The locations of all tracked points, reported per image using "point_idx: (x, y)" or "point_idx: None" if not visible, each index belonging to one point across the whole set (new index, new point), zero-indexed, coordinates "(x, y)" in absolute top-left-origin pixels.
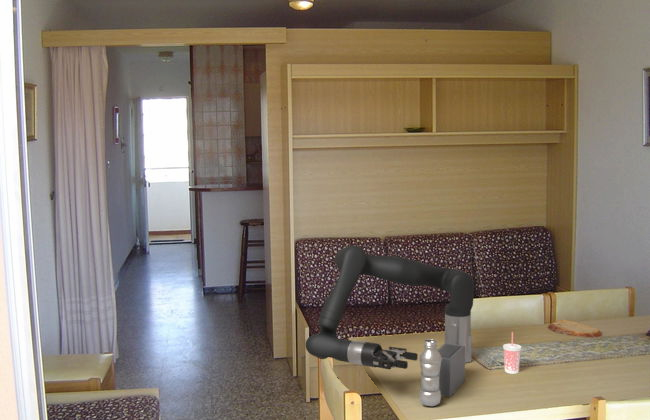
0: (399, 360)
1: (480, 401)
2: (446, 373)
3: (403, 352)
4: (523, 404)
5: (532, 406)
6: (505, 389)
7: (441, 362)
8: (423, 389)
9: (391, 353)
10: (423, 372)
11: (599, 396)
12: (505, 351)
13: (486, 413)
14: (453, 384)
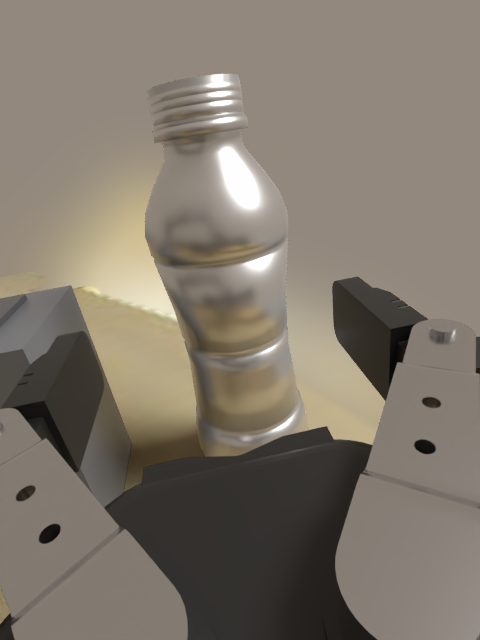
0: (379, 306)
1: (133, 372)
2: None
3: (33, 431)
4: (116, 321)
5: (122, 311)
6: None
7: (63, 326)
8: (296, 390)
9: (185, 518)
10: (285, 302)
11: (33, 289)
12: None
13: None
14: None
